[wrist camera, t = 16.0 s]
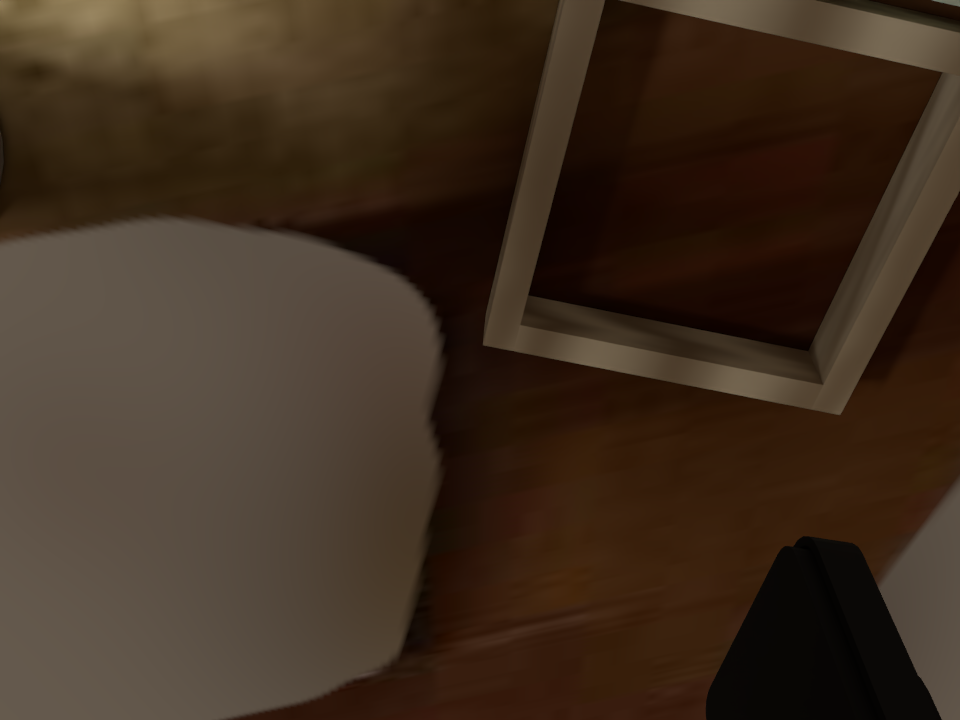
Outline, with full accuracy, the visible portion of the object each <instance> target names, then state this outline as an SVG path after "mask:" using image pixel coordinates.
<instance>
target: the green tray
mask: <svg viewBox="0 0 960 720" xmlns="http://www.w3.org/2000/svg"><path fill="white" fill-rule="evenodd" d="M933 1H937V2H941V3H946V4H950V5H955V6H959V7H960V0H933Z"/></svg>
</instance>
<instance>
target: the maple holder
mask: <svg viewBox="0 0 960 720" xmlns="http://www.w3.org/2000/svg"><path fill="white" fill-rule="evenodd" d="M620 1H625V2H629V3H634V4H638V5H643V6H647V7H652V8H656V9H661V10H665V11H670V12H674V13H679V14H683V15H688V16H692V17H697V18H701V19H706V20H710V21H715V22H719V23H724V24H728V25H733V26H737V27H742V28H746V29H751V30H755V31H760V32H764V33H769V34H773V35H778V36H782V37H787V38H791V39H796V40H800V41H805V42H809V43H814V44H818V45H823V46H827V47H832V48H836V49H841V50H845V51H850V52H854V53H859V54H863V55H868V56H872V57H877V58H881V59H886V60H890V61H895V62H899V63H904V64H908V65H913V66H917V67H922V68H926V69H931V70H935V71H940V72H943V73H942V75H941V77H940V79H939V81H938V83H937V85H936V87H935V90H934V92H933V94H932V96H931V98H930V100H929V102H928V104H927V106H926V108H925V110H924V112H923V114H922V116H921V118H920V121H919V123H918V125H917V127H916V129H915V131H914V133H913V135H912V137H911V139H910V141H909V143H908V145H907V147H906V150H905V152H904V154H903V156H902V158H901V160H900V162H899V164H898V166H897V168H896V170H895V172H894V174H893V176H892V178H891V181H890V183H889V185H888V187H887V189H886V191H885V193H884V195H883V197H882V199H881V201H880V203H879V205H878V207H877V210H876V212H875V214H874V216H873V218H872V220H871V222H870V224H869V226H868V228H867V230H866V232H865V234H864V236H863V238H862V241H861V243H860V245H859V247H858V249H857V251H856V253H855V255H854V257H853V259H852V261H851V263H850V265H849V267H848V270H847V272H846V274H845V276H844V278H843V280H842V282H841V284H840V286H839V288H838V290H837V292H836V294H835V296H834V299H833V301H832V303H831V305H830V307H829V309H828V311H827V313H826V315H825V317H824V319H823V321H822V323H821V325H820V327H819V330H818V332H817V334H816V336H815V338H814V340H813V342H812V344H811V346H810V348H809V350H808V351H804V350H799V349H794V348H789V347H784V346H779V345H774V344H769V343H764V342H759V341H754V340H749V339H744V338H739V337H734V336H729V335H724V334H719V333H714V332H709V331H704V330H699V329H694V328H689V327H684V326H679V325H674V324H669V323H664V322H659V321H654V320H649V319H644V318H639V317H634V316H629V315H624V314H619V313H614V312H609V311H604V310H599V309H594V308H589V307H584V306H579V305H574V304H569V303H564V302H559V301H554V300H549V299H544V298H539V297H534V296H529V295H528V293H529V289H530V285H531V282H532V278H533V274H534V270H535V266H536V262H537V259H538V255H539V251H540V247H541V243H542V240H543V236H544V232H545V228H546V224H547V220H548V217H549V213H550V209H551V205H552V201H553V198H554V194H555V190H556V186H557V182H558V178H559V175H560V171H561V167H562V163H563V159H564V156H565V152H566V148H567V144H568V140H569V136H570V133H571V129H572V125H573V121H574V117H575V113H576V110H577V106H578V102H579V98H580V94H581V91H582V87H583V83H584V79H585V75H586V71H587V68H588V64H589V60H590V56H591V52H592V49H593V45H594V41H595V37H596V33H597V29H598V26H599V22H600V18H601V14H602V10H603V7H604V3H605V0H559V4H558V8H557V12H556V16H555V21H554V25H553V29H552V34H551V38H550V42H549V46H548V51H547V55H546V59H545V63H544V68H543V72H542V76H541V80H540V85H539V89H538V93H537V98H536V102H535V106H534V110H533V115H532V119H531V123H530V127H529V132H528V136H527V140H526V144H525V149H524V153H523V157H522V161H521V166H520V170H519V174H518V179H517V183H516V187H515V191H514V196H513V200H512V204H511V208H510V213H509V217H508V221H507V225H506V230H505V234H504V238H503V243H502V247H501V251H500V255H499V260H498V264H497V268H496V272H495V277H494V281H493V285H492V289H491V294H490V298H489V302H488V306H487V311H486V318H485V328H484V338H483V345H485V346H490V347H495V348H500V349H505V350H511V351H516V352H521V353H526V354H531V355H536V356H541V357H546V358H551V359H556V360H562V361H567V362H572V363H577V364H582V365H587V366H592V367H597V368H602V369H608V370H613V371H618V372H623V373H628V374H633V375H638V376H643V377H648V378H653V379H659V380H664V381H669V382H674V383H679V384H684V385H689V386H694V387H699V388H705V389H710V390H715V391H720V392H725V393H730V394H735V395H740V396H745V397H750V398H756V399H761V400H766V401H771V402H776V403H781V404H786V405H791V406H796V407H801V408H807V409H812V410H817V411H822V412H827V413H832V414H837V415H840V414H841V413H842V411H843V409H844V407H845V405H846V403H847V401H848V399H849V398H850V396H851V394H852V392H853V390H854V388H855V386H856V384H857V383H858V381H859V379H860V377H861V375H862V373H863V371H864V369H865V368H866V366H867V364H868V362H869V360H870V358H871V356H872V354H873V353H874V351H875V349H876V347H877V345H878V343H879V341H880V339H881V338H882V336H883V334H884V332H885V330H886V328H887V326H888V324H889V323H890V321H891V319H892V317H893V315H894V313H895V311H896V309H897V308H898V306H899V304H900V302H901V300H902V298H903V296H904V294H905V293H906V291H907V289H908V287H909V285H910V283H911V281H912V279H913V277H914V276H915V274H916V272H917V270H918V268H919V266H920V264H921V262H922V261H923V259H924V257H925V255H926V253H927V251H928V249H929V247H930V246H931V244H932V242H933V240H934V238H935V236H936V234H937V232H938V231H939V229H940V227H941V225H942V223H943V221H944V219H945V217H946V216H947V214H948V212H949V210H950V208H951V206H952V204H953V202H954V201H955V199H956V197H957V195H958V193H959V191H960V21H958V20H954V19H949V18H945V17H940V16H936V15H931V14H927V13H923V12H918V11H914V10H909V9H905V8H901V7H896V6H892V5H887V4H883V3H879V2H874V1H870V0H620Z"/></svg>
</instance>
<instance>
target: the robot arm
mask: <svg viewBox="0 0 960 720" xmlns="http://www.w3.org/2000/svg"><path fill="white" fill-rule="evenodd" d="M3 165H4V158H3V140H2V135H1V131H0V183H1V177H2V171H3ZM706 720H942V719H941V717H940V715H939V713H938V711H937V708H936V706H935V704H934V702H933V700H932V697H931V695H930V693H929V691H928V689H927V688H926V686H925V685H924V683H923V681H922V680H921V678H920V677H919V676H918V675H917V673H916V670H915V668H914V666H913V664H912V661H911V659H910V657H909V655H908V653H907V650H906V648H905V646H904V644H903V642H902V639H901V637H900V635H899V633H898V631H897V628H896V626H895V624H894V622H893V620H892V618H891V615H890V613H889V611H888V609H887V607H886V604H885V602H884V600H883V598H882V595H881V593H880V591H879V589H878V587H877V584H876V582H875V580H874V578H873V576H872V573H871V571H870V569H869V567H868V565H867V562H866V560H865V558H864V556H863V554H862V552H861V551H860V549H859V547H857V546H856V545H855V544H853V543H848V542H841V541H835V540H828V539H822V538H815V537H809V536H803V537H802V538H800V539H799V540H797V542H796V543H795V545H794V546H793V547H790V546H785V547H783V548H782V549H781V550H780V552H779V553H778V555H777V557H776V559H775V561H774V563H773V565H772V567H771V569H770V571H769V573H768V574H767V576H766V578H765V580H764V582H763V584H762V586H761V588H760V590H759V592H758V594H757V596H756V598H755V600H754V602H753V604H752V606H751V608H750V610H749V612H748V614H747V616H746V618H745V620H744V622H743V624H742V626H741V628H740V630H739V631H738V633H737V635H736V637H735V639H734V641H733V643H732V645H731V647H730V649H729V651H728V653H727V655H726V657H725V659H724V661H723V663H722V665H721V667H720V669H719V671H718V673H717V675H716V677H715V679H714V681H713V683H712V685H711V687H710V689H709V692H708V695H707V700H706Z"/></svg>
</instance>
